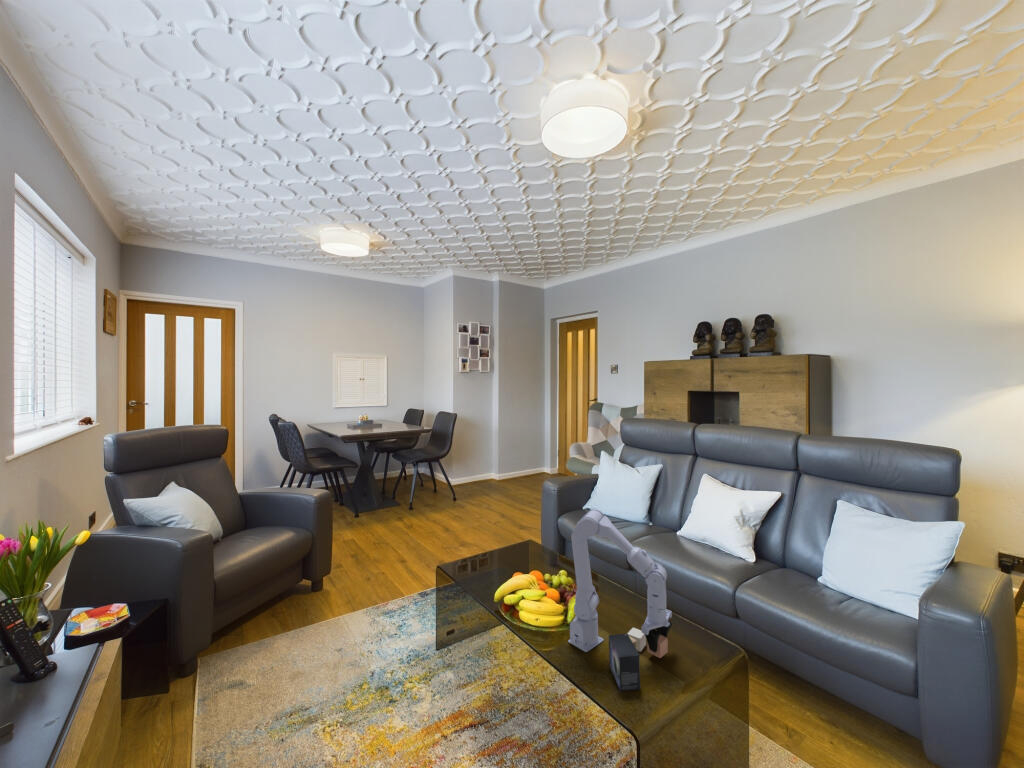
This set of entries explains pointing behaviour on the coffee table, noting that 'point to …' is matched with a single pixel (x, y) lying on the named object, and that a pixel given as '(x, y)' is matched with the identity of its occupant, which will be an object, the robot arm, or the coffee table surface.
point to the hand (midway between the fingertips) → (657, 647)
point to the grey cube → (638, 638)
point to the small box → (624, 662)
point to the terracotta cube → (660, 647)
